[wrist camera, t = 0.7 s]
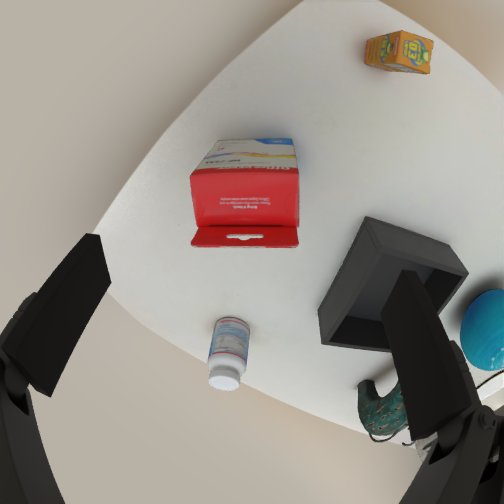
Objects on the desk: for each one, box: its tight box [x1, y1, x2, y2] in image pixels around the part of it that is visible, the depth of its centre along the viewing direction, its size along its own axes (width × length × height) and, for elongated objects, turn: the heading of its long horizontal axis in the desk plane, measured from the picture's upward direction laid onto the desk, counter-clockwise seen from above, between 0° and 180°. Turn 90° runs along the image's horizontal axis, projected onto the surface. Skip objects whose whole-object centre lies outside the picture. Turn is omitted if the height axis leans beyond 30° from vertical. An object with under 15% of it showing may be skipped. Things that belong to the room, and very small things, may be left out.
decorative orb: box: [460, 289, 504, 371], centre depth 36 cm, size 15×15×15 cm
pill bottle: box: [207, 318, 250, 391], centre depth 44 cm, size 6×6×11 cm
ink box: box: [190, 139, 299, 248], centre depth 26 cm, size 8×5×15 cm, turn 93°
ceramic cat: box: [358, 379, 415, 446], centre depth 46 cm, size 20×6×20 cm, turn 157°
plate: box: [477, 372, 504, 401], centre depth 64 cm, size 21×21×1 cm
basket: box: [318, 217, 469, 353], centre depth 37 cm, size 18×16×7 cm
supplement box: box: [365, 30, 434, 74], centre depth 19 cm, size 3×4×10 cm
